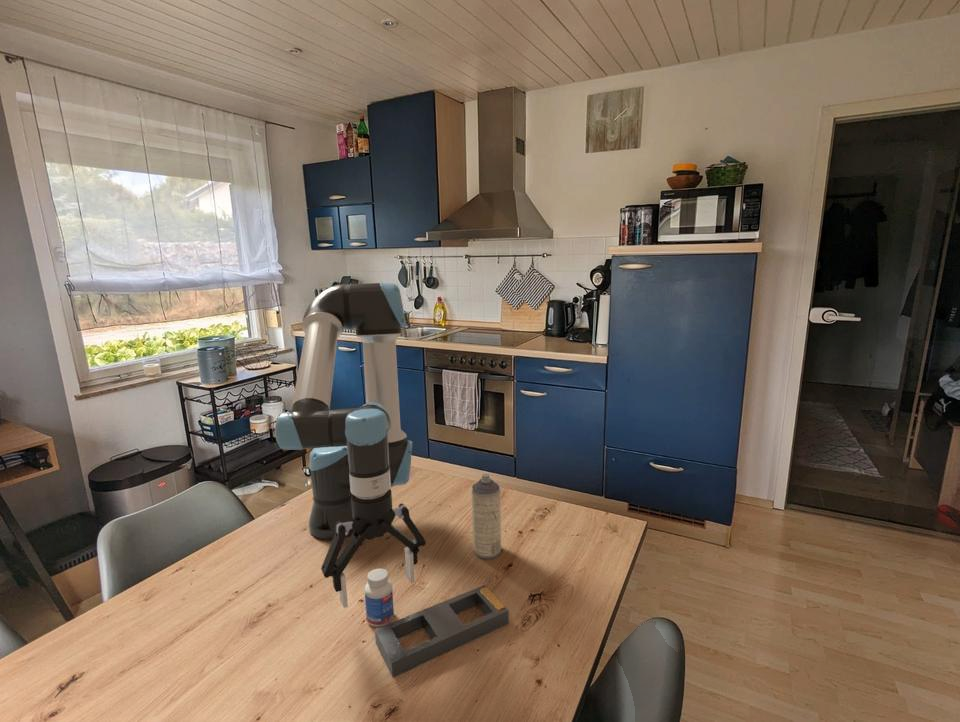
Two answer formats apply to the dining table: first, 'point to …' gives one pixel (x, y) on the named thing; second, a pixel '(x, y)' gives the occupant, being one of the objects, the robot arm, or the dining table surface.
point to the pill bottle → (379, 598)
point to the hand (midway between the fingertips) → (378, 591)
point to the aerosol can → (486, 518)
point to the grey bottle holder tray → (440, 629)
